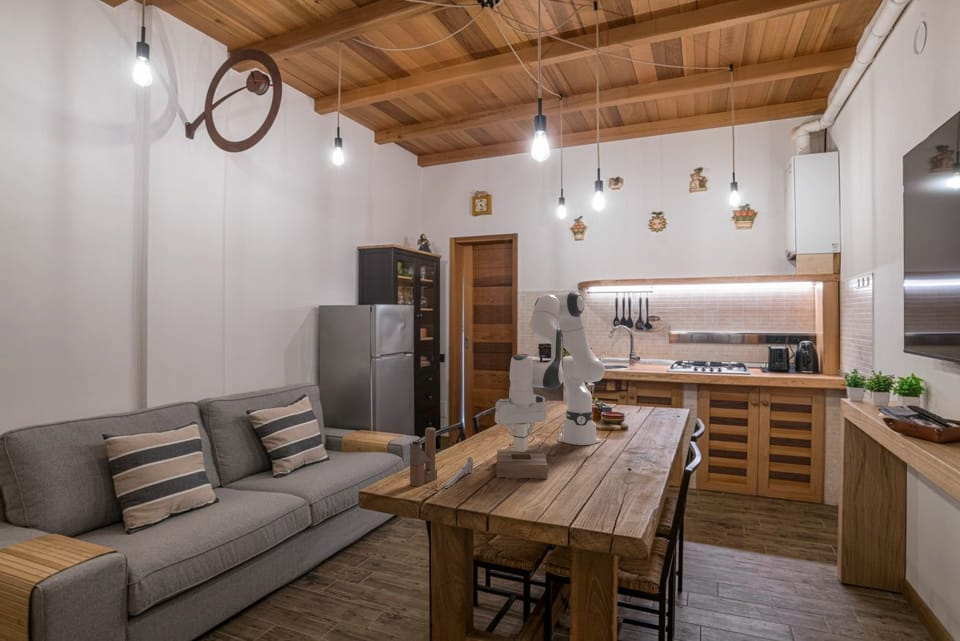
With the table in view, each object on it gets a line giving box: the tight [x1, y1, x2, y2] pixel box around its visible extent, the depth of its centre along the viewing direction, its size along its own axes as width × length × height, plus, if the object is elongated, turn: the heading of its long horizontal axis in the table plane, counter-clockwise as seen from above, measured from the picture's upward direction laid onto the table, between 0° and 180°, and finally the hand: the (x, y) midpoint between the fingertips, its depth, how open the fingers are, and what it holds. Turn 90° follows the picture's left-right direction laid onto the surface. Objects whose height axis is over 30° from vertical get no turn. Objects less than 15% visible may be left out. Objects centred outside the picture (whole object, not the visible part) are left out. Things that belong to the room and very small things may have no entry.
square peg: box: [513, 423, 529, 452], centre depth 190 cm, size 4×4×10 cm
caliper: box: [444, 456, 474, 489], centre depth 178 cm, size 20×1×6 cm, turn 156°
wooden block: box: [409, 427, 438, 488], centre depth 176 cm, size 4×11×18 cm, turn 147°
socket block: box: [496, 448, 549, 480], centre depth 190 cm, size 20×18×5 cm
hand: (520, 434), depth 190 cm, fingers closed on square peg, 6 cm apart
